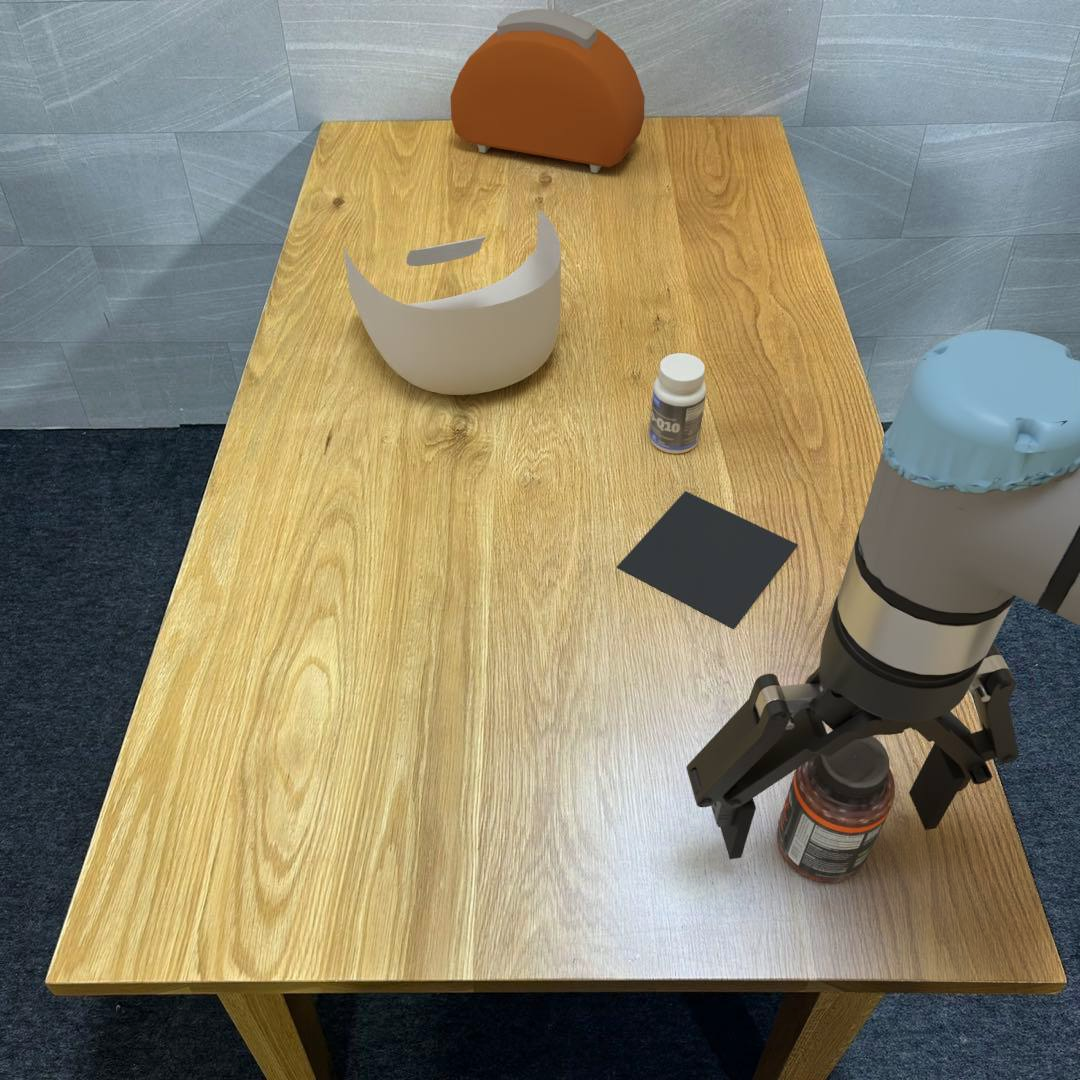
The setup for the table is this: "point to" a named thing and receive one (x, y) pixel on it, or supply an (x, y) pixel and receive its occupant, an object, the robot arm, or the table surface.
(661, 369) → the pill bottle
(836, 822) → the supplement bottle
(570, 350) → the table surface
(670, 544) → the mat
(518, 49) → the orange toaster
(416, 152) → the table surface
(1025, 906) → the table surface
